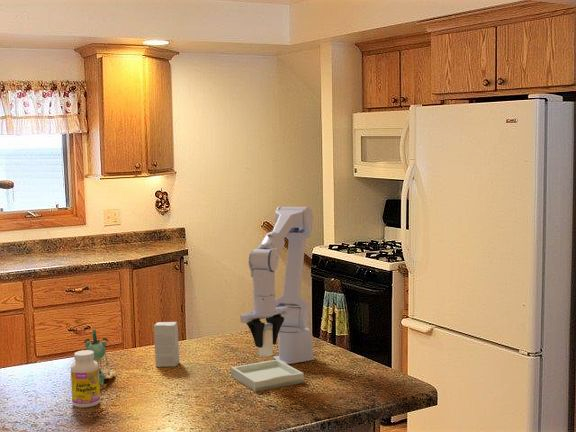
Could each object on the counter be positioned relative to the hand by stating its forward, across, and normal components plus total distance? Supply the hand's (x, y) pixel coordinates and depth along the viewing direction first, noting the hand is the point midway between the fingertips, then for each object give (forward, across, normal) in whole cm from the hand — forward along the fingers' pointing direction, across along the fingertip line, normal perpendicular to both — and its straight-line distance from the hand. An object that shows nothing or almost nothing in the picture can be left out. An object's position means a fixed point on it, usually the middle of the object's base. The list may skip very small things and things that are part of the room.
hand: (265, 345), depth 207 cm
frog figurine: (+10, +33, -32) cm, 47 cm away
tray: (+9, 0, 0) cm, 9 cm away
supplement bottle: (+10, +44, -16) cm, 47 cm away
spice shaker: (+2, 0, 0) cm, 3 cm away
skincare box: (+10, +12, -31) cm, 34 cm away
